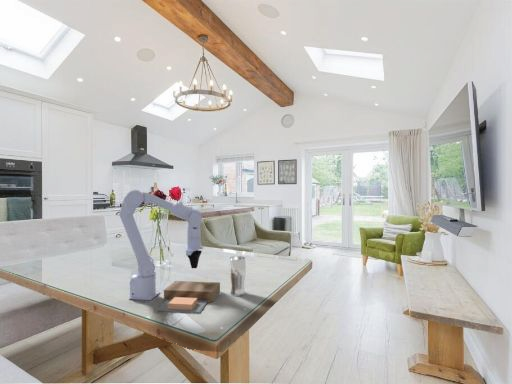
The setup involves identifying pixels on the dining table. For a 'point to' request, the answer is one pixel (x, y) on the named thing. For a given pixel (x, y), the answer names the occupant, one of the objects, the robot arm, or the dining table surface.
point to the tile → (182, 303)
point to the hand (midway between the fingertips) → (194, 267)
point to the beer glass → (237, 275)
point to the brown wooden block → (193, 290)
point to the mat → (196, 309)
